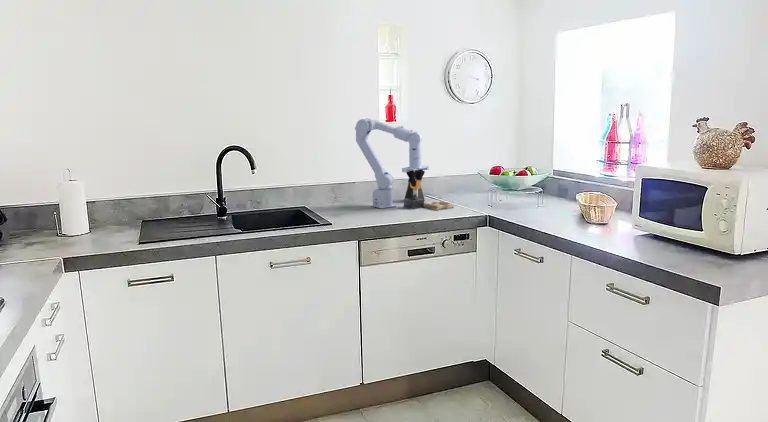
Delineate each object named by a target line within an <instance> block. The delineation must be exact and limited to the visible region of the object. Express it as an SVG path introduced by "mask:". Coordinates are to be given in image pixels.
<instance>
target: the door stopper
mask: <svg viewBox="0 0 768 422" xmlns="http://www.w3.org/2000/svg"><path fill="white" fill-rule="evenodd" d="M415 179H416V178H415ZM407 182H408V184H407V188H406V192H405V195H404V199H407V198H414V197H413V188H410V179H409V178H408V181H407ZM418 198H420V199H424V202H426V201H425V196H424V192H423V189H422V187H421V188H420V189H418ZM404 199H403V200H404Z"/></svg>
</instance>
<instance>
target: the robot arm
mask: <svg viewBox="0 0 768 422" xmlns="http://www.w3.org/2000/svg"><path fill="white" fill-rule="evenodd" d="M354 130H355V141H356V144H357V145H358V147H359V149H360V151H361V152H362V154H363V156H364V158H365V159H366V160H367V162H368V164H369V166H370V167H371V170H372V171H373V173H374V178H375V180H376V185H377V189H374V190H373V192H372V206H371V207H375V208H378V209H386V208H393V207H397V204H394V202H393V201H394V199H393V198H394V191H393V189H394V188H393V186H392V185H393V183H394V177H393V175H392V174H391V173H389V172H388V170H387V169H386V168H385V167H384V166H383V164H382V163H381V161H380V159H379V158H378V157H379V156H378V155H377V154H376V153H375V150H374V148H373V147H372V145H371V143H370V142H369V141H368V139H369V135H370V133H371V132H372V131H373V130H379V131H382V132H385V133H387V134H391V135H393V137H394V138H395V139H398V140H399V141H403V142H406V143H407V142H408V144H409V146H408V147H409V148H408V150H409V151H408V153H409V155H408V158H409V159H408V161H409V164H408V165H409V166H407V167H402V168H401V172H402V173H406V175H407V176H408V180H409V179H410V182H411V186H413V187H415V178H416V180H421V181H422V180H423V176H424V175H425V174H426V172H425V171H427V170H429V168H430V167H429V165H422V144H421V142H422V141H423V140H422V139H423V137H422V134H421V133H419V132H418V131H414V130H413V129H407V128H405V127H404V126H403V125H401V126H397V127H395V126H392V125H389V124H387V123H383V121H382V122H381V121H380V120H376V119H371V118H361V119H359V120H357V122H356V125H355V127H354Z"/></svg>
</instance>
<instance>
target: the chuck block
mask: <svg viewBox="0 0 768 422" xmlns="http://www.w3.org/2000/svg"><path fill="white" fill-rule="evenodd" d="M424 200H425V198H424V199H420V198H407V199H403V208H405V209H409V210H416V209H423V208H425V207H424V203H425V201H424Z"/></svg>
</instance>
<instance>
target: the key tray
mask: <svg viewBox="0 0 768 422" xmlns="http://www.w3.org/2000/svg"><path fill="white" fill-rule="evenodd" d="M454 206H455V205H454V203H451V202H447V201H442V200H437V201H429V202H424V208H426V209H429V210H434V211H441V210H442V211H443V210H449V209H454Z"/></svg>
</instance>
